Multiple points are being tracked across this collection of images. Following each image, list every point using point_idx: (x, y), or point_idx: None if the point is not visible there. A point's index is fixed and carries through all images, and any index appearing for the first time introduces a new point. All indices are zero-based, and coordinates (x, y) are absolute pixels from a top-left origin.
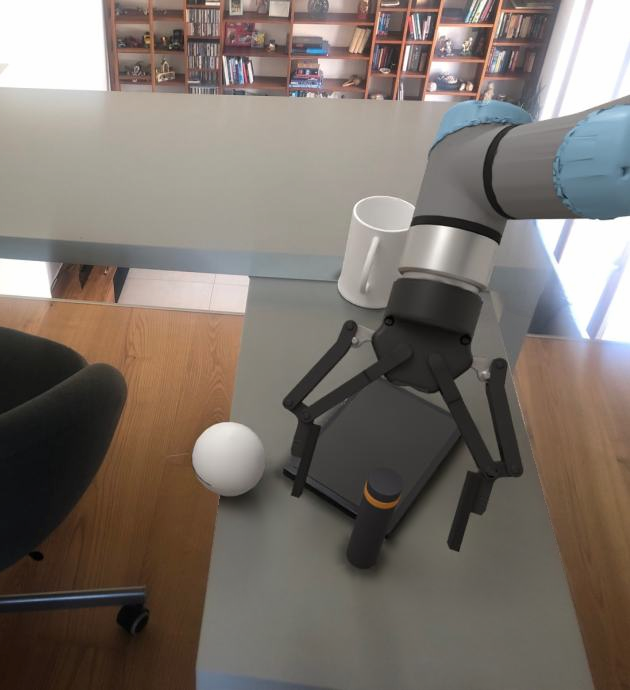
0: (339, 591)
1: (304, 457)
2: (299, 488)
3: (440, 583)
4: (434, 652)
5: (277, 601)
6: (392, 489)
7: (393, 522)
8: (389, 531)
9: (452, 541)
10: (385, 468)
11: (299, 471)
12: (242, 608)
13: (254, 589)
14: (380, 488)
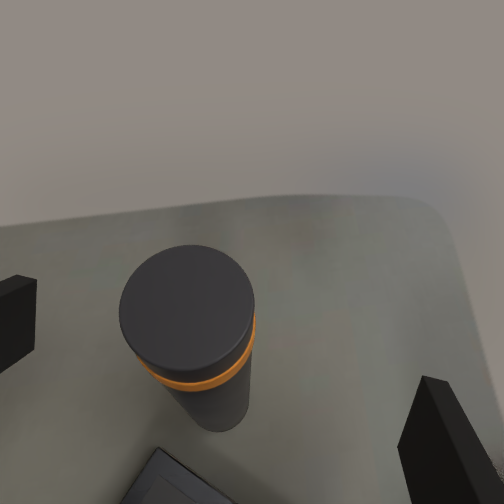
0: (261, 320)
1: (485, 470)
2: (435, 392)
3: (76, 362)
4: (122, 247)
5: (362, 289)
6: (167, 269)
7: (140, 484)
8: (154, 454)
9: (21, 285)
10: (179, 364)
11: (467, 431)
12: (414, 271)
13: (404, 304)
14: (211, 268)
